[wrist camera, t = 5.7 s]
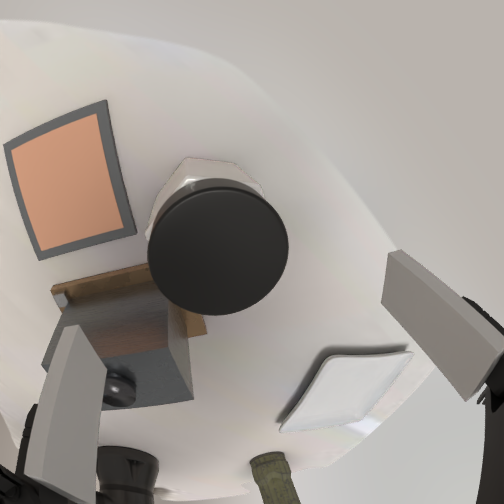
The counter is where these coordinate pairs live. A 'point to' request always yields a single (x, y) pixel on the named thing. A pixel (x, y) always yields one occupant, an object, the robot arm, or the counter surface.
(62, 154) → the mat
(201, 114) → the counter surface
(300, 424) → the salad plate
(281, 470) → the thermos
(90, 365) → the robot arm
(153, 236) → the jar
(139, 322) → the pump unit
